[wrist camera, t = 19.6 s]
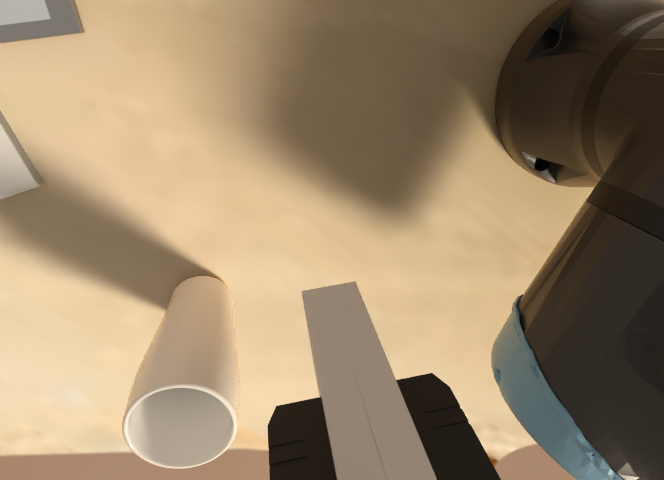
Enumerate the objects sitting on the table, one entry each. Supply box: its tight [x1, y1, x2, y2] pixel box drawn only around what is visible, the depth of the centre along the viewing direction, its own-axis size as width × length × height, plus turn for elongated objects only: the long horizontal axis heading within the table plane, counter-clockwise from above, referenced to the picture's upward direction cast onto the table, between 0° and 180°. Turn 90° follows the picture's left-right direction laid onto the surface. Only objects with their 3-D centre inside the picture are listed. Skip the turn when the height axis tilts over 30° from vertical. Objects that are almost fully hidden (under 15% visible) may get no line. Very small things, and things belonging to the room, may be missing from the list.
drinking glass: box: [122, 276, 240, 468], centre depth 35 cm, size 7×7×15 cm
